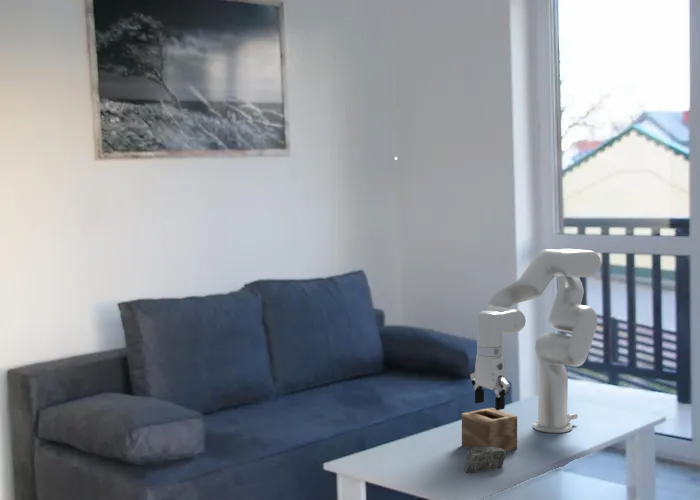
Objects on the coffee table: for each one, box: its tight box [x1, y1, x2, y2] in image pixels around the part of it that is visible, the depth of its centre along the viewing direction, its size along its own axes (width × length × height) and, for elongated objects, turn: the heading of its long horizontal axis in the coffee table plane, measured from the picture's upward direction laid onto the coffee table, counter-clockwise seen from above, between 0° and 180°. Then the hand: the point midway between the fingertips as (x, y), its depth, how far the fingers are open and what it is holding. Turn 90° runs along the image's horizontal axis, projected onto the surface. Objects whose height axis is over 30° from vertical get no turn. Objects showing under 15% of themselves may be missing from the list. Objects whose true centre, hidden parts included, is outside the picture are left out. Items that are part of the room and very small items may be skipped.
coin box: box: [461, 407, 518, 452], centre depth 281 cm, size 12×12×10 cm
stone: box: [464, 446, 507, 474], centre depth 262 cm, size 14×7×10 cm, turn 124°
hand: (489, 405), depth 281 cm, fingers open, 9 cm apart
